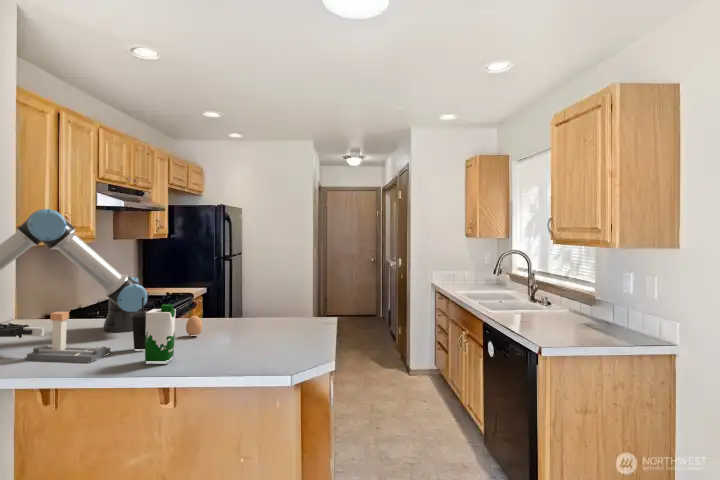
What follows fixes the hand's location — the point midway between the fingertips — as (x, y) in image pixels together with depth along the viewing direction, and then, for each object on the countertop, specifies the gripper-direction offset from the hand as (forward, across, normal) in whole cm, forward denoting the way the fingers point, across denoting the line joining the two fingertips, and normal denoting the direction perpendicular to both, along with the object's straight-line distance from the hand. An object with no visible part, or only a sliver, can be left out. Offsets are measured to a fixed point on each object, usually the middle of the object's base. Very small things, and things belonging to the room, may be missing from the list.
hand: (42, 331), depth 165 cm
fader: (+6, 0, -6) cm, 8 cm away
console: (+10, 0, -8) cm, 13 cm away
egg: (+40, -37, -9) cm, 55 cm away
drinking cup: (+29, -13, -9) cm, 33 cm away
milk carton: (+42, +2, -9) cm, 43 cm away
